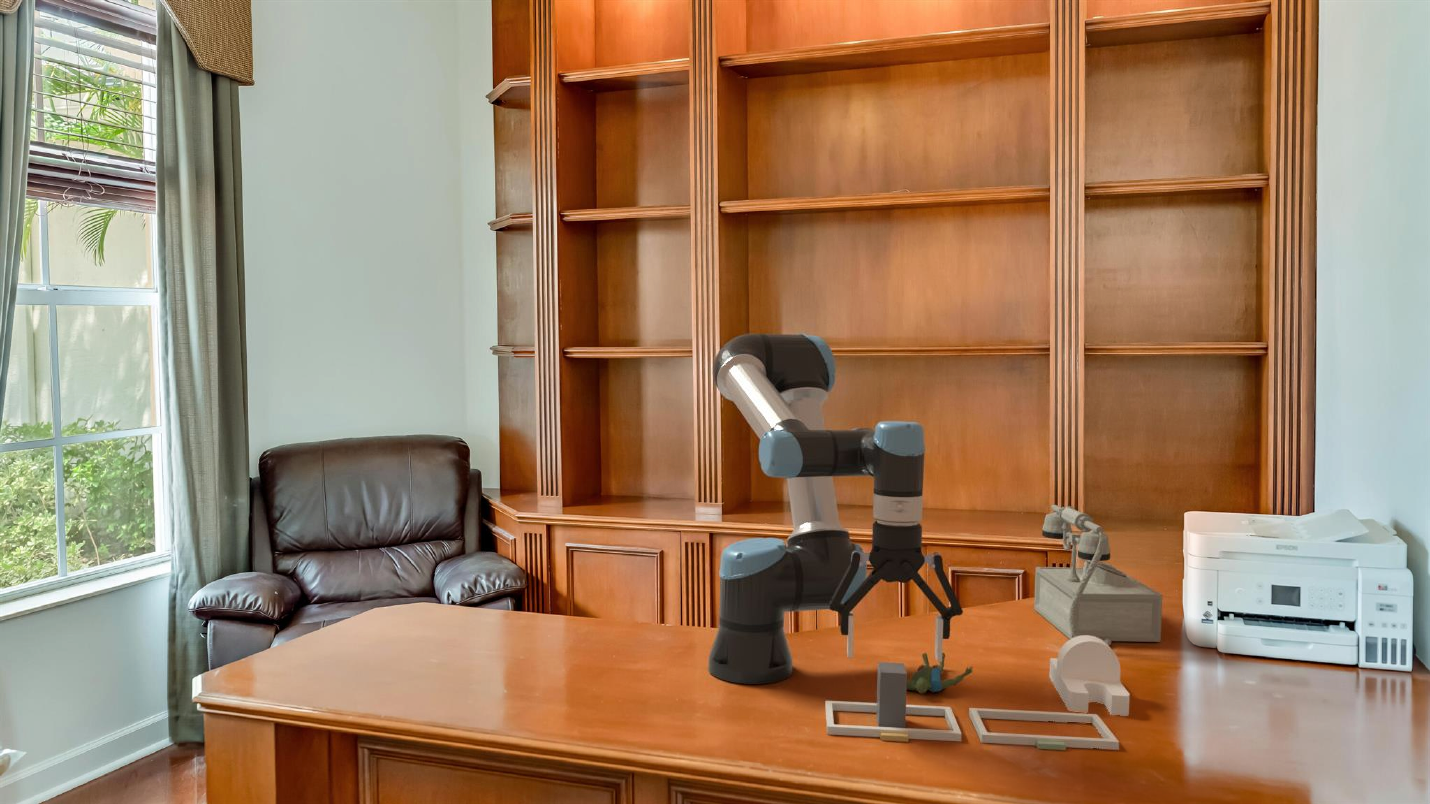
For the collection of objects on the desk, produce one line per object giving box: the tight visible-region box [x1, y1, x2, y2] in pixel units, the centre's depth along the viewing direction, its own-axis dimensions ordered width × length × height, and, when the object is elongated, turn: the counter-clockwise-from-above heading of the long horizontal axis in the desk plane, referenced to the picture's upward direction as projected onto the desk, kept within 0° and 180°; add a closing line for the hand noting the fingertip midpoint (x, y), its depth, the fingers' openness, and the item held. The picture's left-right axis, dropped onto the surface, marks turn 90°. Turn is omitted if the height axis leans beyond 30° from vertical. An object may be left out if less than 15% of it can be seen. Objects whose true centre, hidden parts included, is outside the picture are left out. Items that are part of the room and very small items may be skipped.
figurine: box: [906, 651, 974, 694], centre depth 176 cm, size 16×4×18 cm
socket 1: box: [824, 700, 962, 742], centre depth 156 cm, size 20×12×1 cm, turn 85°
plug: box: [875, 661, 908, 728], centre depth 157 cm, size 4×6×9 cm
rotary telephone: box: [1033, 504, 1163, 647], centre depth 211 cm, size 32×20×25 cm, turn 0°
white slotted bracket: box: [1049, 635, 1131, 717], centre depth 171 cm, size 10×18×10 cm, turn 172°
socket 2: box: [968, 707, 1120, 751], centre depth 154 cm, size 20×12×1 cm, turn 85°
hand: (893, 657), depth 155 cm, fingers open, 13 cm apart
